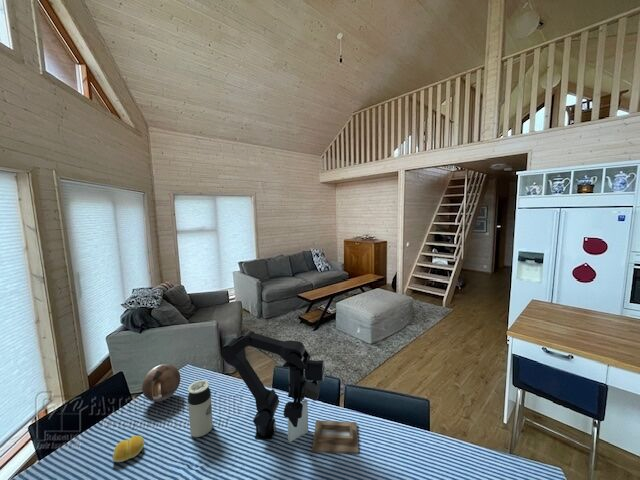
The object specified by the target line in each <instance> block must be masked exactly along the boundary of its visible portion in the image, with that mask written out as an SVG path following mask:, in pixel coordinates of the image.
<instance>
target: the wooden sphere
mask: <svg viewBox="0 0 640 480" xmlns="http://www.w3.org/2000/svg"><path fill="white" fill-rule="evenodd" d="M180 383H181V373H180V371H179V369H178V368H177V367H176V366H174V365H173V364H169V363H167V364H166V363H163V364H159V365H157V366H154V367H153V368H152V369H150V371H148V372H147V374H146V375H145V376H144V379H143V381H142V386H141V389H142V394H143V395H144V397H145V398H146V399H147V400H149V401H151V402H163V401H165V400H167V399H169V398H171V397H172V396H173V395H174V394H175V393H176V392H177V390H178V388H179V386H180Z"/></svg>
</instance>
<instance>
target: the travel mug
mask: <svg viewBox="0 0 640 480" xmlns="http://www.w3.org/2000/svg"><path fill="white" fill-rule="evenodd" d="M209 386H210V382H209V381H208V380H206V379H205V380H204V379H201V380H197V381H194V382H192V383H191V384H190V385H189V386H188V388H187V391H188V393H189V394H188V395H187V402H188V403H187V405H188V406H187V407H188V417H189V418H188V419H189V430H190V431H189V433H190V435H191V436H192V437H195V438H200V437H203V436H205V435H207V434H208V433H209V432H210V431H211V430H212V429H213V427H214V426H213V425H214V424H213V423H214V422H213V409H212V406H213V405H212V395H211V393H212V392H211V389H210V388H209Z"/></svg>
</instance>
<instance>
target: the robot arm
mask: <svg viewBox="0 0 640 480" xmlns="http://www.w3.org/2000/svg"><path fill="white" fill-rule="evenodd" d="M248 347H250V348H254V349H257V350H262V351H264V352H267V353H269V354H270V353H271V354H275V355H277V356H280V358H282V360H283V361H284V363H283V364H282V367H283V368H288V382H287V387H288V390H289V391H288V393H287V398H291V399H293V401H288V402H286V403H285V405H284V409H283V417H284V418H288V419H289V420H290V421H291V423H292V425H293V426H294V427H297V424H298V418H301V417H302V414H303V404H302V403H301V401H304V400H305V399H306V398H308V399H310V400H312V401H313V402H316V401H318V397H319V394H320V393H321V386H320V383H319V382H324V380H325V375H326V374H325V373H326V366H325V363H324V360H314V359H313V360H312V359H311V358H312V356H311V355H310V353H309V352H308V351H307V350H306V347H305V345H304V343H303V342H301V341H298V340H291V339H290V340H279V339H277V338H273V337H268V336H266V335H264V334H263V335H262V334H259V333H256V332H254V331H252V330H251V331H248V332H246V333H245V334H241V335H240V336H238V337H233V338H230V339H229V340H228V341H227V342H226V343H225V344H224V345H223V346H222V347H221V349H220V352H219V355H220V357H221V358H222V359H223V360H224V362H225V363H226V364H227V365H230V366H231V367H234V369H235V370H236V372H237V373H238V375H239V376H240V378H241V379H242V381H243V383H244V384H245V385H246V387H247V388H248V390H249V392H250V393H251V395H252V396H253V398H254V400H255V409H256V410H257V412H256V414H255V415H254V418H253V419H252V422H253V424H254V426H255V435H254V439H257V440H272V438H273V436H274V434H275V432H276V429H277V427H276V426H277V425H276V418H275V414H276V412H277V410H278V408H279V405H280V399H279V398H280V396H279V395H278V394H277V393H276V390H275V389H273V388H272V389H268V388H266V387H265V385H264V384H263V382H262V381H261V378H260V377H259V376H258V374H257V373H256V371H255V370H254V368H253V367H252V365H251V364H250V362H249V361H248V359H247V357H246V356H247V355H246V350H245V349H246V348H248Z"/></svg>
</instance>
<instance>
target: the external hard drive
mask: <svg viewBox="0 0 640 480" xmlns="http://www.w3.org/2000/svg"><path fill="white" fill-rule="evenodd" d="M301 403H302V404H303V414H302V417H301V418H298V424H297V427H294V426H293V425H292V423H291V421H290V420H289V419H288V418H287V421H286V422H287V441H288V442H290V443H291V442H293V441H294V440H297V439H298V438H300V437H302V436H304V435H305V434H307V433H309V409H308V408H309V406H308V403H309V402H308V400H307V399H303V400H302V401H301Z"/></svg>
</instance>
